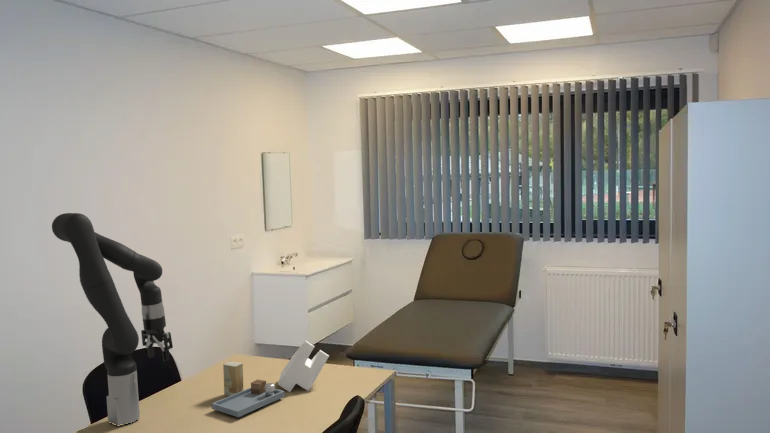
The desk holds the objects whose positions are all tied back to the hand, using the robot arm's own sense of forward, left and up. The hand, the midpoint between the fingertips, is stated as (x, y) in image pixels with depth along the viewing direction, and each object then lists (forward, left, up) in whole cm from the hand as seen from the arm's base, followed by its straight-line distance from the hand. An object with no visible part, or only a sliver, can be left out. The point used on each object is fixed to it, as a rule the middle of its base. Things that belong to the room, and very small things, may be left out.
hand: (159, 358), depth 217 cm
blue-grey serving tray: (+18, -27, -18) cm, 37 cm away
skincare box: (+22, -14, -18) cm, 32 cm away
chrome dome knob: (+25, -30, -16) cm, 42 cm away
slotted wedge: (+44, -30, -18) cm, 56 cm away
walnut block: (+25, -24, -16) cm, 38 cm away
